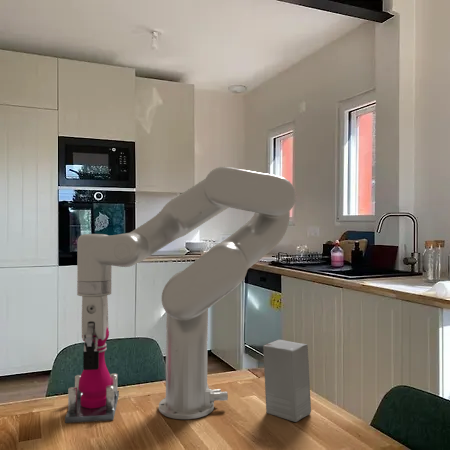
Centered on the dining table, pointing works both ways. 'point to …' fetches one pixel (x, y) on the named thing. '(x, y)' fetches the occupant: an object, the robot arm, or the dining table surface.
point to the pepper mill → (95, 380)
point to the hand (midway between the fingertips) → (94, 362)
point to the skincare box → (287, 379)
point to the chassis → (91, 414)
